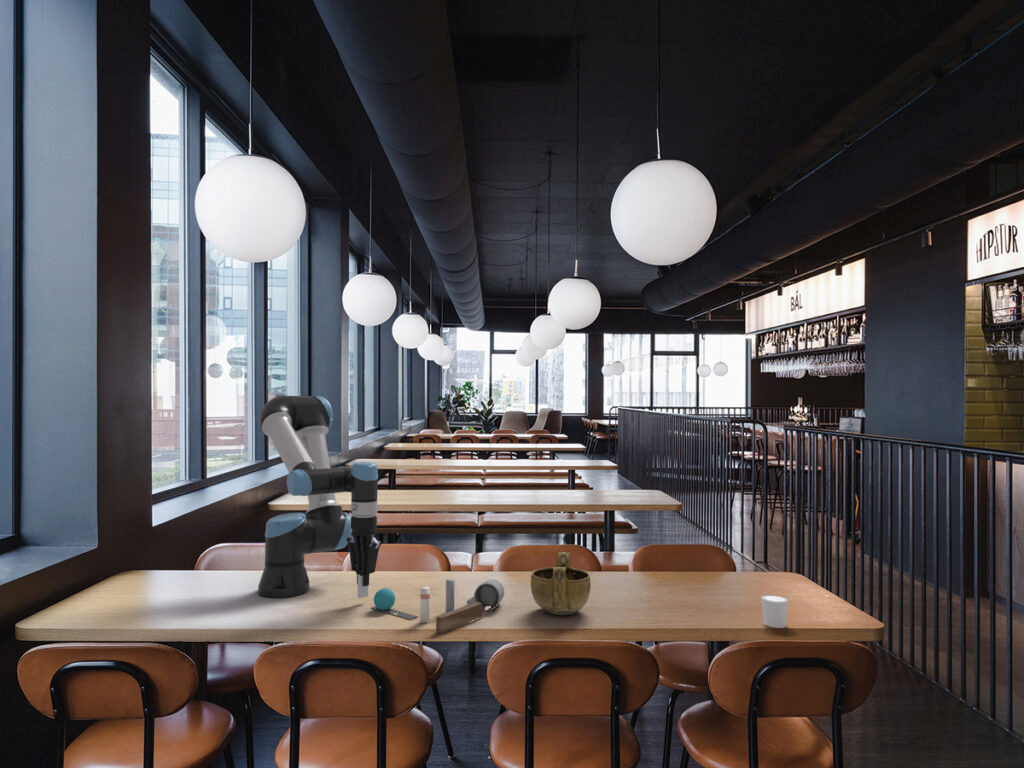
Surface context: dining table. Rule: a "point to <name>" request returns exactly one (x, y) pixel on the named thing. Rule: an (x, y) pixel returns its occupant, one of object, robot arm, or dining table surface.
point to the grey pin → (450, 595)
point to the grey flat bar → (398, 613)
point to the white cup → (774, 610)
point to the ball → (384, 599)
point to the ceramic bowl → (560, 587)
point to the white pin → (424, 604)
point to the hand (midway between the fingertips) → (362, 596)
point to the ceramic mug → (488, 594)
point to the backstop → (458, 617)
